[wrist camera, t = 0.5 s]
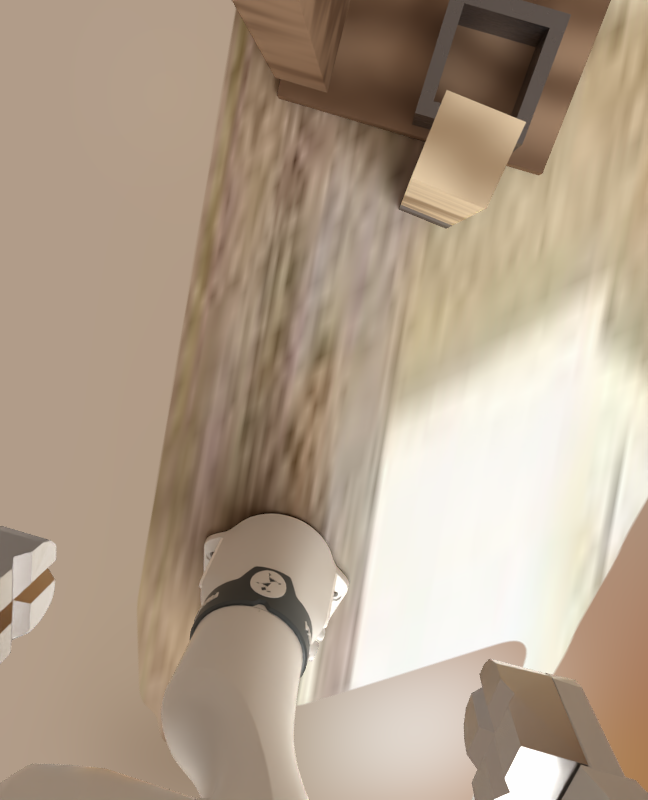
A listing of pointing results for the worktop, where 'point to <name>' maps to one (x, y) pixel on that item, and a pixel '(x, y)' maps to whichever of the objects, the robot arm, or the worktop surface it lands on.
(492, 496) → the worktop surface
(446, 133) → the rail bar
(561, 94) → the l-shaped wooden bracket
